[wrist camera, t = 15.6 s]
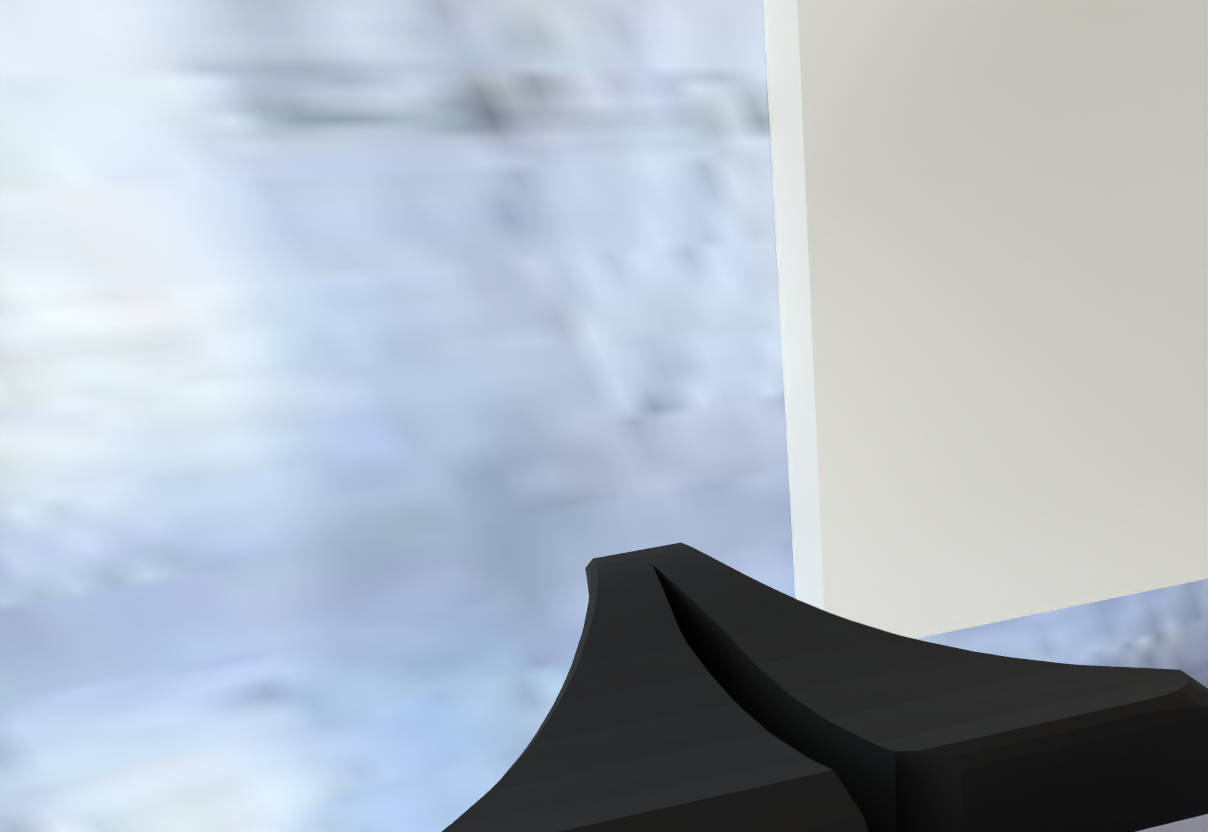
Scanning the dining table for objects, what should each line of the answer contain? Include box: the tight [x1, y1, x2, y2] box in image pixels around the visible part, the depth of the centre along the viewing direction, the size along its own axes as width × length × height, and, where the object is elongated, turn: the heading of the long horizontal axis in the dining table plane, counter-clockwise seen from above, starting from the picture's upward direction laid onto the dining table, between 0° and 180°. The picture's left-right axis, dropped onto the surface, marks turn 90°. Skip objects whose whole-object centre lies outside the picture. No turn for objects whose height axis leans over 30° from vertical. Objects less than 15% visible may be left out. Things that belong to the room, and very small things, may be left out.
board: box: [763, 0, 1208, 639], centre depth 22 cm, size 16×14×2 cm
